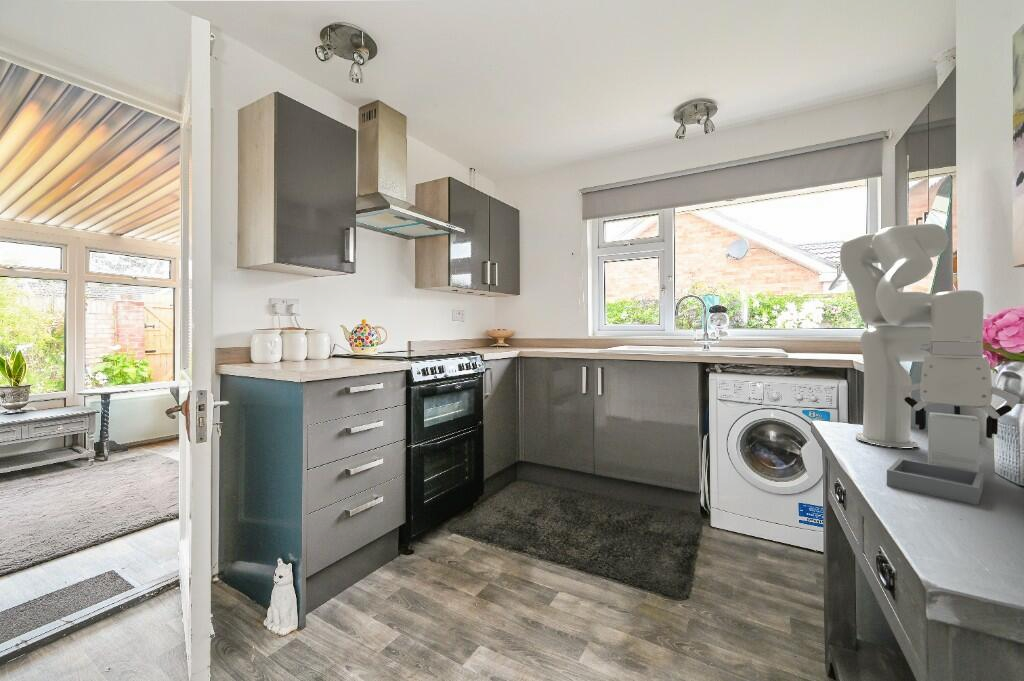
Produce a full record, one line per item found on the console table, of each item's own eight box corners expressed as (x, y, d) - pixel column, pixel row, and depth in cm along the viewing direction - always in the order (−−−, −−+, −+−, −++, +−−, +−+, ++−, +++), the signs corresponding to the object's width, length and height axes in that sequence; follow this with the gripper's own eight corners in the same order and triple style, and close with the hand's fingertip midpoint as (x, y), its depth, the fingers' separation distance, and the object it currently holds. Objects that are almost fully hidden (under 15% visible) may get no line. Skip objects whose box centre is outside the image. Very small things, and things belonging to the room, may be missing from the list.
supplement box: (976, 476, 88) (978, 416, 88) (978, 485, 83) (980, 421, 83) (927, 467, 94) (928, 411, 93) (926, 475, 88) (928, 415, 88)
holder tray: (898, 472, 91) (899, 458, 91) (983, 488, 81) (983, 473, 81) (886, 485, 83) (886, 470, 83) (978, 505, 74) (978, 488, 74)
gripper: (896, 349, 92) (895, 428, 92) (1020, 352, 78) (1019, 444, 79) (902, 349, 97) (901, 423, 97) (1021, 351, 83) (1019, 438, 83)
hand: (954, 432), depth 88 cm, fingers open, 9 cm apart
